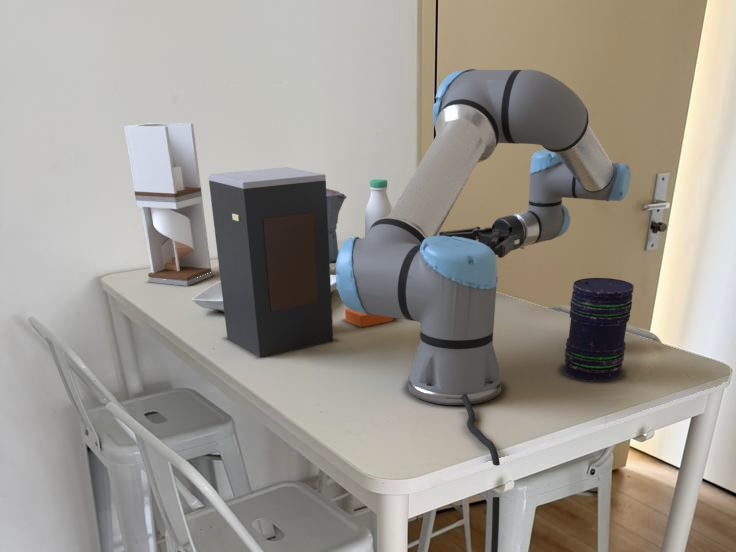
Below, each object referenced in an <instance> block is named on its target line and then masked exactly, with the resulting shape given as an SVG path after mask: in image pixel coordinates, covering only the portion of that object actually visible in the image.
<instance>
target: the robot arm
mask: <svg viewBox="0 0 736 552" xmlns="http://www.w3.org/2000/svg"><path fill="white" fill-rule="evenodd" d="M432 109H433V110H432V118H433V119H432V120H433V126H434V129H435V134H436V136H435V137H434V139H433V141H432V143H431V144H430V146H429V147H428V149H427V150H426V153H425V154H424V156H423V157H422V159H421V161H420V163H419V164H418V166H417V167H416V169H415V171H414V172H413V174H412V176H411V178H410V180H408V182H407V184H406V186H405V187H404V189H403V191H402V192H401V194H400V196H399V198H398V199H397V201H396V202H395V205H394V206H393V208H392V211H391V213H390V214H389V216H388V217H384V218H380V219H378V220H377V221H375V222H374V224H373V225H372V226H371V228H370V230H369V231H368V233H367V234H366V236H365V235H364V237H362V238H360V237H359V236H354V237H349V238H347V239H346V240H344V242H343V243H342V244H341V246H340V247H339V249H338V256H337V261H335V275H336V284H337V288H336V289H337V292H338V296H339V297H340V300H341V301H342V304H344V306H345V307H347V309H351V310H354V311H358V312H363V313H365V314H367V315H371V314H374V315H380V316H386V317H393V319H400V320H406V321H413V322H418V323H420V324H419V330H420V331H419V332H420V334H419V338H420V339H419V345H418V348H417V350H416V353H415V357H414V359H413V363H412V365H411V368H410V371H409V374H408V391H409V392H410V394H412V395H413V396H414V397H416V398H418V399H419V400H423V401H424V402H428V403H432V404H437V405H446V406H464V407H465V411H466V412H467V416H468V418H467V421H466V427H467V428H468V430H469V432H470V433H472V435H473V436H475V438H477V440H478V441H479V442H480V443H482V445H484V446H486V448H487V449H488V450H489V453H490V457H491V461H492V465H493V466H497V467H499V466H500V464H501V462H500V456H499V453H498V450H497V447H496V445H495V444H494V442H493V441H492V440H491V439H489V438H488V437H486V436H485V434H484V433H483V432H481V430H479V429H478V428H477V427H476V426H475V424H474V422H475V419H476V415H475V410H474V408H473V406H472V405H475V404H481V403H485V402H488V401H491V400H493V399H495V398H496V397H498V396H499V394H500V393H501V391H502V381H503V380H502V379H503V377H502V375H501V369H500V367H499V363H498V359H497V357H496V356H497V355H496V352H495V348H494V343H493V342H494V328H495V327H494V326H495V315H496V314H495V311H496V300H497V299H496V298H497V285H498V282H499V278H498V263H497V261H498V260H497V258H499V259H502V258H505V256H507V255H508V254H509V253H511V252H512V251H515V250H518V249H520V250H525V247H528V246H531V245H535V244H539V243H543V242H545V241H546V242H547V241H551V240H554V239H556V238H559V237H561V236H563V235H564V234H565V233H566V232H567V231H568V230H569V227H570V224H571V216H570V212H569V209H568V208H567V206H566V205H564V204H563V198H567V199H579V200H580V199H581V200H590V201H591V200H592V201H605V202H620V201H624V199H625V198H626V197H627V195H628V192H629V190H630V185H631V178H632V177H631V176H632V171H631V167H630V166H629V165H628V164H626V163H620V162H612V160H611V158H610V157H609V155H608V153H607V152H606V150H605V149H604V147H603V145H602V144H601V142H600V140H599V138H598V137H597V135H596V134H595V132H594V131H593V129H592V128H591V125H590V115H589V111H588V109H587V107H586V105H585V104H584V102H583V100H582V99H581V98H580V96H578V94H577V93H576V92H575V91H574V90H573V89H571V88H570V87H569V86H568V85H566V84H565V83H564V82H562V81H561V80H559V79H558V78H556V77H554V76H553V75H550V74H548V73H545V72H543V71H541V70H535V69H476V68H467V69H464V70H456V71H453V72H451V73H450V74H447V76H446V77H445V78H444V79H443V80H442V82H441V83H440V85H439V87H438V89H437V92H436V95H435V103H434V104H433V108H432ZM499 144H513V145H514V144H515V145H516V144H517V145H518V144H523V145H539V146H542V147H543V149H540V150H537V151H535V152H534V153H533V154H532V156H531V160H530V168H529V169H530V170H529V183H528V185H529V187H528V188H529V189H528V207H527V210H524V211H520V212H516V213H512V214H510V215H506V216H502V217H498V218H496V219H495V220H494V221H493V224H492V225H491V227H484V228H481V227H480V226H475V227H471V228H463V229H454V230H446V231H441V228H442V227H443V225H444V223H445V222H446V219H447V218H448V216H449V214H450V212H451V210H452V209H453V207H454V206H455V203H456V202H457V200H458V199H459V197H460V195H461V192H462V191H463V189H464V187H465V186H466V184H467V182H468V180H469V178H470V176H471V175H472V173H473V171H474V170H475V167H476V166H477V164H478V163H481V162H484V161H485V160H488V159H489V158H490V157H491V156H492V155H493V153H494V151H495V150H496V147H497V146H498V145H499ZM500 501H501V500H500V496H492V509H491V511H492V512H491V545H490V552H499V533H500Z"/></svg>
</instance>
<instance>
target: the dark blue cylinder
mask: <svg viewBox="0 0 736 552" xmlns="http://www.w3.org/2000/svg"><path fill="white" fill-rule="evenodd" d="M634 287H635V286H634V284H633V283H631V282H629V281H626V280H623V279H617V278H609V277H587V278H581V279H577V280H574V282H573V285H572V290H573V291H572V293H571V298H570V305H569V306H570V309H569V311H568V312H569V318H570V323H569V333H568V338H567V339H566V342H565V349H564V366H563V373H564V374H565V375H566V376H568V377H570V378H573V379H575V380H579V381H583V382H592V383H593V382H595V383H603V382H610V381H614V380H617V379H618V378H620V377H621V375H622V369H621V368H622V367H623V362H624V360H625V359H624V357H625V350H626V342H625V337H626V332H627V325H628V322H629V321H630V318H631V311H632V306H633V293H634V289H635V288H634Z"/></svg>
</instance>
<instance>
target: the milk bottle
mask: <svg viewBox="0 0 736 552" xmlns="http://www.w3.org/2000/svg"><path fill="white" fill-rule="evenodd" d="M369 187H370V188H369V189H370V196H369V198H368V202H367V204H366V207H365V213H364V237H365V236H366V234H367V233H368V231H369V230H370V228H371V226H372V225H373V224H374V222H375V221H377V220H378V219H380V218H384V217H388V216H389V214H390V213H391V211H392V209H393V208H392V204H391V202H390V200H389V197H388V191H387V190H388V180H387V179H382V178H377V179H375V178H374V179H370V181H369Z"/></svg>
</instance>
